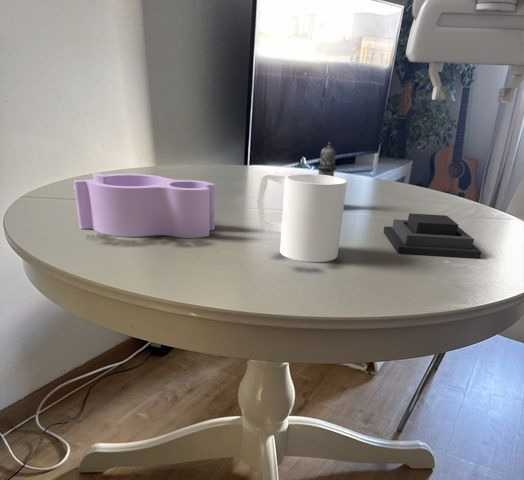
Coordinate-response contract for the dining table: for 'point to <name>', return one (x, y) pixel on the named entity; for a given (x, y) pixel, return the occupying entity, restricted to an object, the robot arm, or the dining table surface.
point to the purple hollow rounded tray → (145, 205)
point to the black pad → (432, 224)
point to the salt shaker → (327, 161)
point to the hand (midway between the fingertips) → (470, 101)
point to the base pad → (430, 242)
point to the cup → (307, 215)
